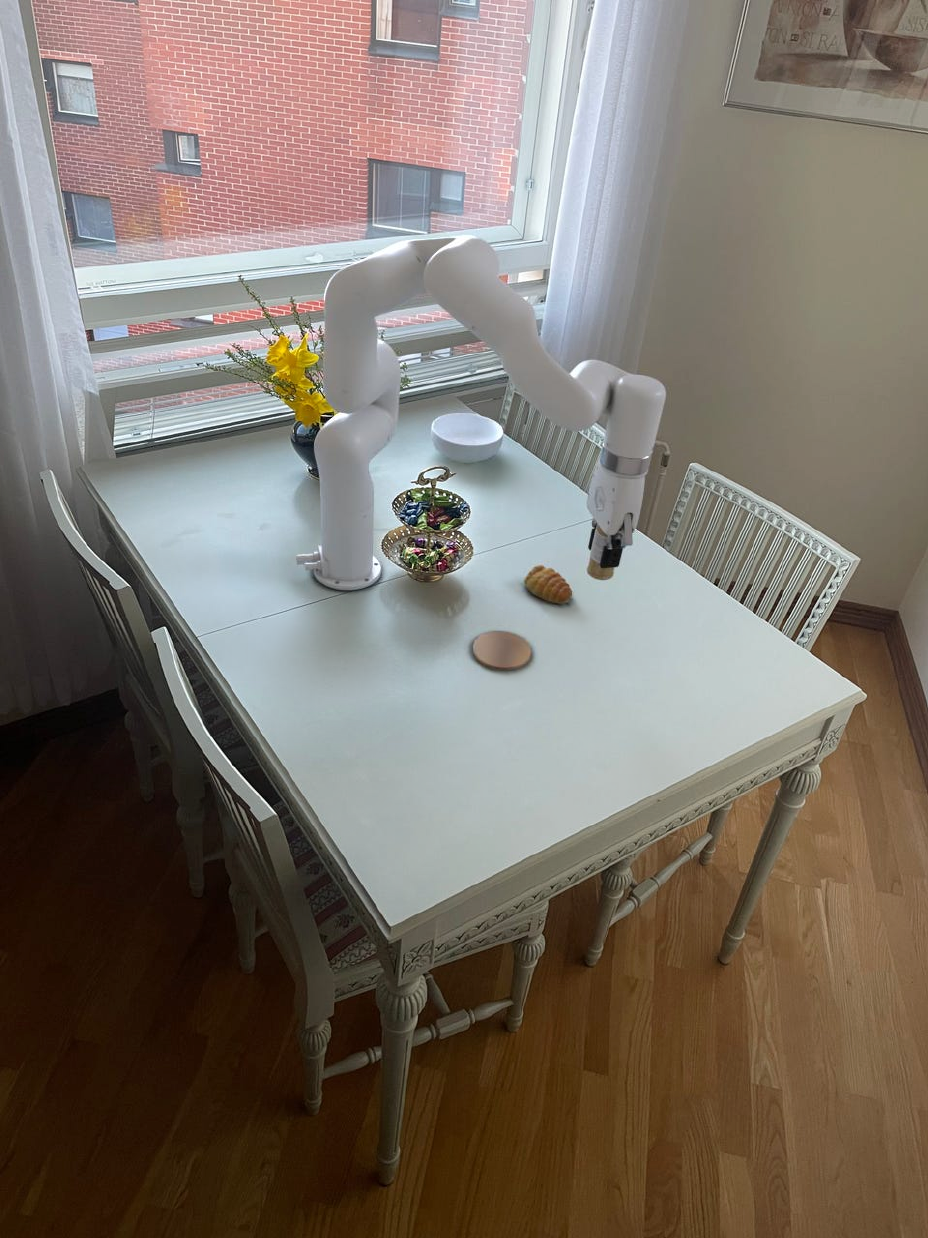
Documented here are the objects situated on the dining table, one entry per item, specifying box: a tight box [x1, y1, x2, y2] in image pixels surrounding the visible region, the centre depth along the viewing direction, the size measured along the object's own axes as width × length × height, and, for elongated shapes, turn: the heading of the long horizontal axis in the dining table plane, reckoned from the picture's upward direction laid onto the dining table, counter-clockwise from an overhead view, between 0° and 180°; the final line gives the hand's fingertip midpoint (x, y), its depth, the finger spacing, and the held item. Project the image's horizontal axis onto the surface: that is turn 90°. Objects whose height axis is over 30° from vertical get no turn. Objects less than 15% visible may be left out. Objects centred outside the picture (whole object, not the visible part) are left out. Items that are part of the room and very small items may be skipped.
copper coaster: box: [472, 630, 532, 671], centre depth 160 cm, size 10×10×1 cm
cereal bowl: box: [430, 412, 504, 464], centre depth 215 cm, size 17×17×7 cm
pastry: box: [523, 564, 573, 605], centre depth 174 cm, size 9×7×4 cm
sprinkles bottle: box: [586, 524, 621, 581], centre depth 150 cm, size 5×5×14 cm
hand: (603, 556), depth 152 cm, fingers closed on sprinkles bottle, 4 cm apart
